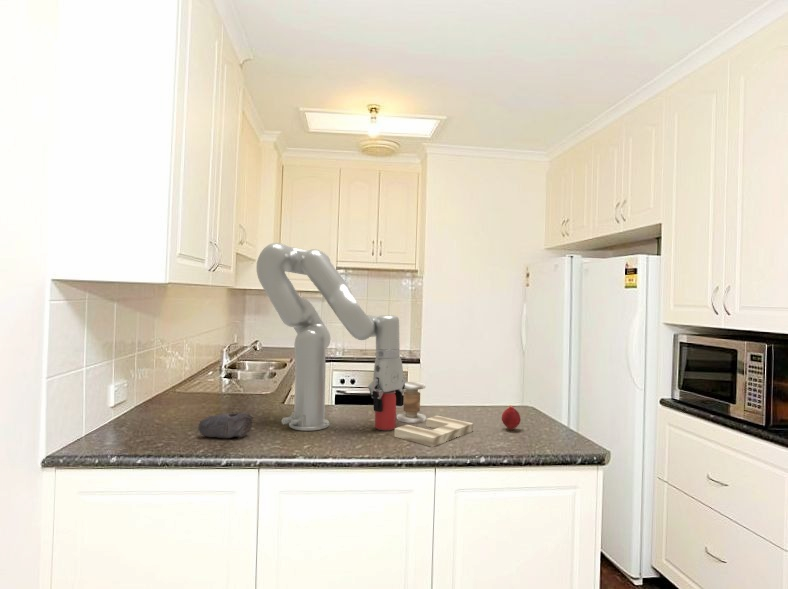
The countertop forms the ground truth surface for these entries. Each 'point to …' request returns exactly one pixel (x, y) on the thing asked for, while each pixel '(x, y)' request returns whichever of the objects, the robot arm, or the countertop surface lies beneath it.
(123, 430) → the countertop surface
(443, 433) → the notched board
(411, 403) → the bobbin
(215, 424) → the perforated stone tool
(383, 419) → the beer can
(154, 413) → the countertop surface
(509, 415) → the onion
